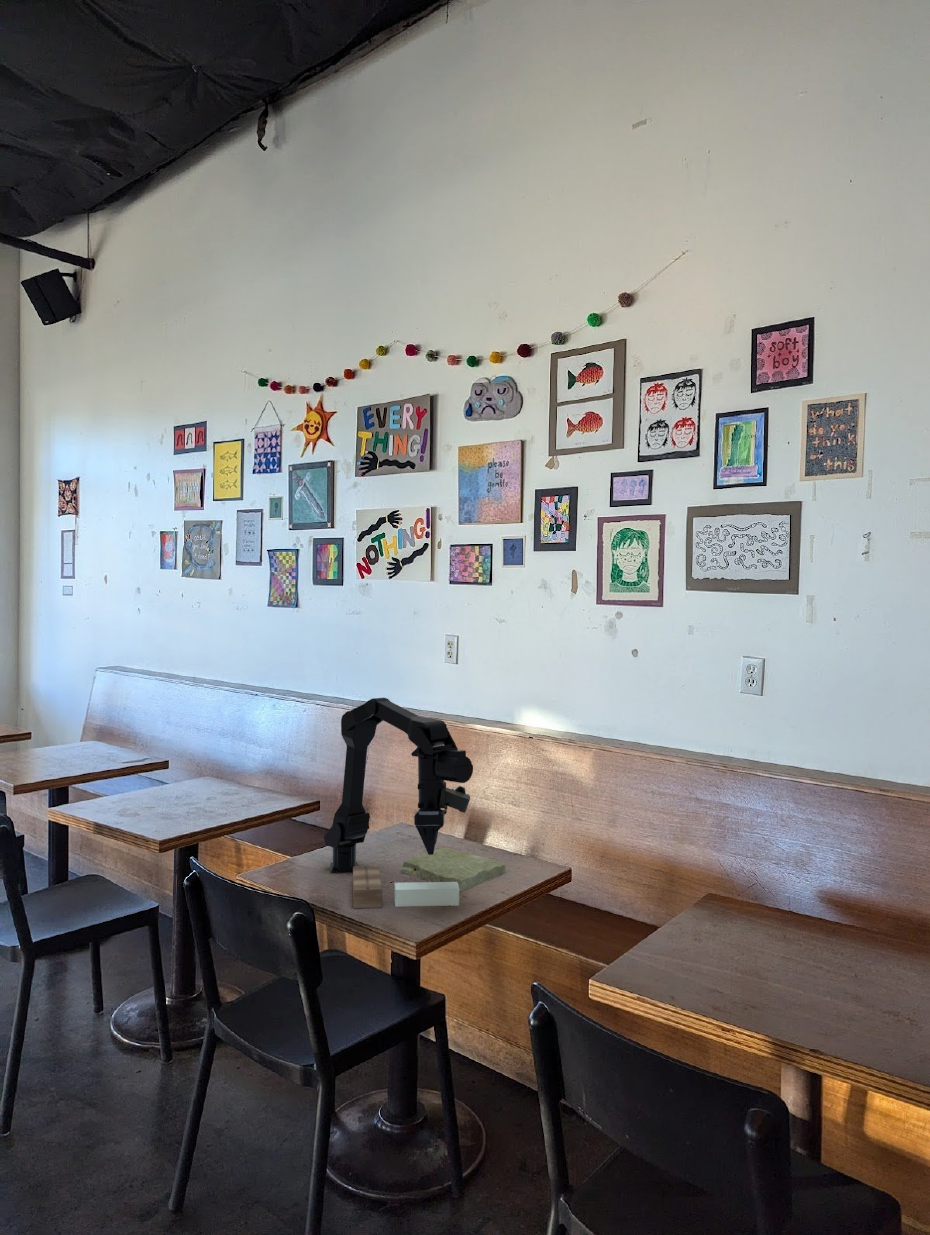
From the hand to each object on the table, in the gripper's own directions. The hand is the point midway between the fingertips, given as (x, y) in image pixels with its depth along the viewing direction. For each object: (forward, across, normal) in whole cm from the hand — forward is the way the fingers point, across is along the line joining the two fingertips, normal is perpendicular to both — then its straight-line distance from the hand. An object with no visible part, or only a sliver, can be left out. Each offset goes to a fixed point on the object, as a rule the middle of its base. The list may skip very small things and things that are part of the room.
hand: (432, 849), depth 188 cm
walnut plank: (+11, +4, +15) cm, 19 cm away
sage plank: (+12, +1, +2) cm, 12 cm away
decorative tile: (+12, +21, -3) cm, 25 cm away
